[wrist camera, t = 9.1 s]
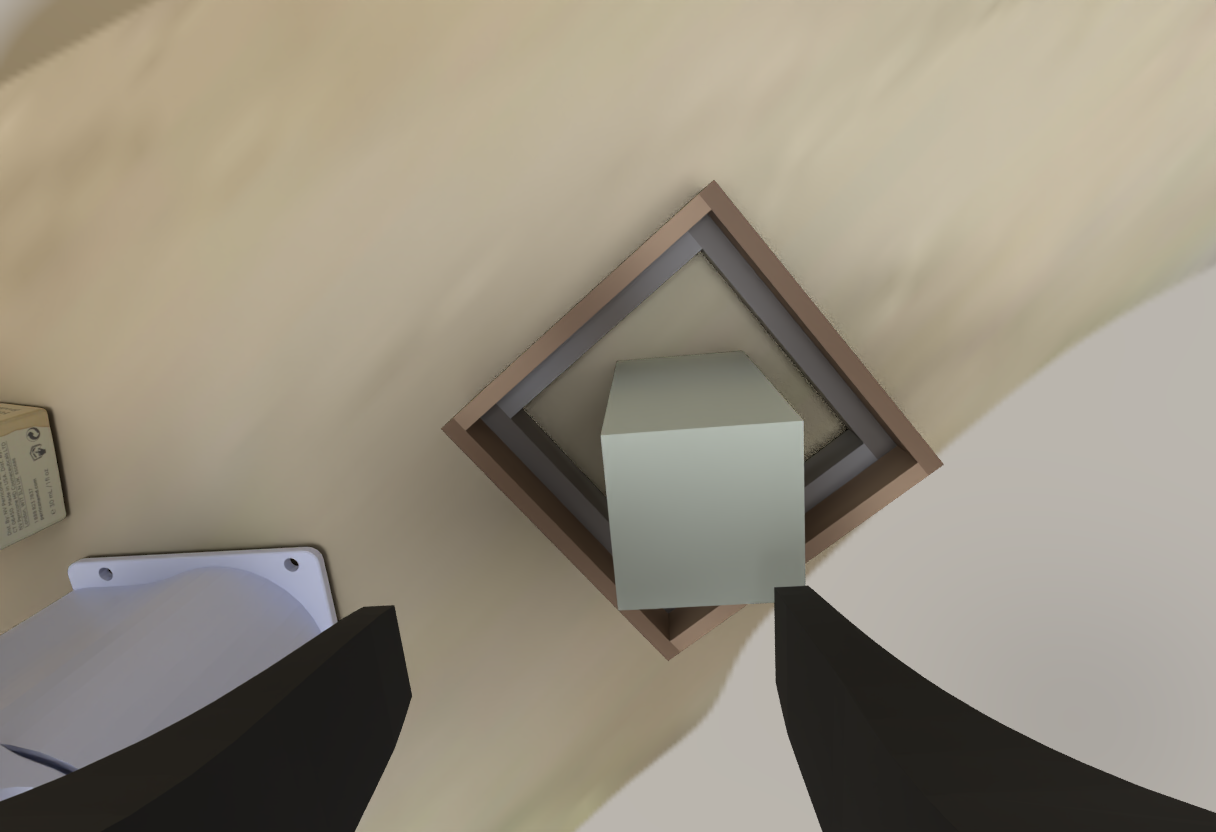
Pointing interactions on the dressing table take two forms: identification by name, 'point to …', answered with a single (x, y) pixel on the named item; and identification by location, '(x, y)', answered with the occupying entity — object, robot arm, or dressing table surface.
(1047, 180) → the dressing table surface
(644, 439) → the sage peg
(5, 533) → the skincare box
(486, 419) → the bore box
